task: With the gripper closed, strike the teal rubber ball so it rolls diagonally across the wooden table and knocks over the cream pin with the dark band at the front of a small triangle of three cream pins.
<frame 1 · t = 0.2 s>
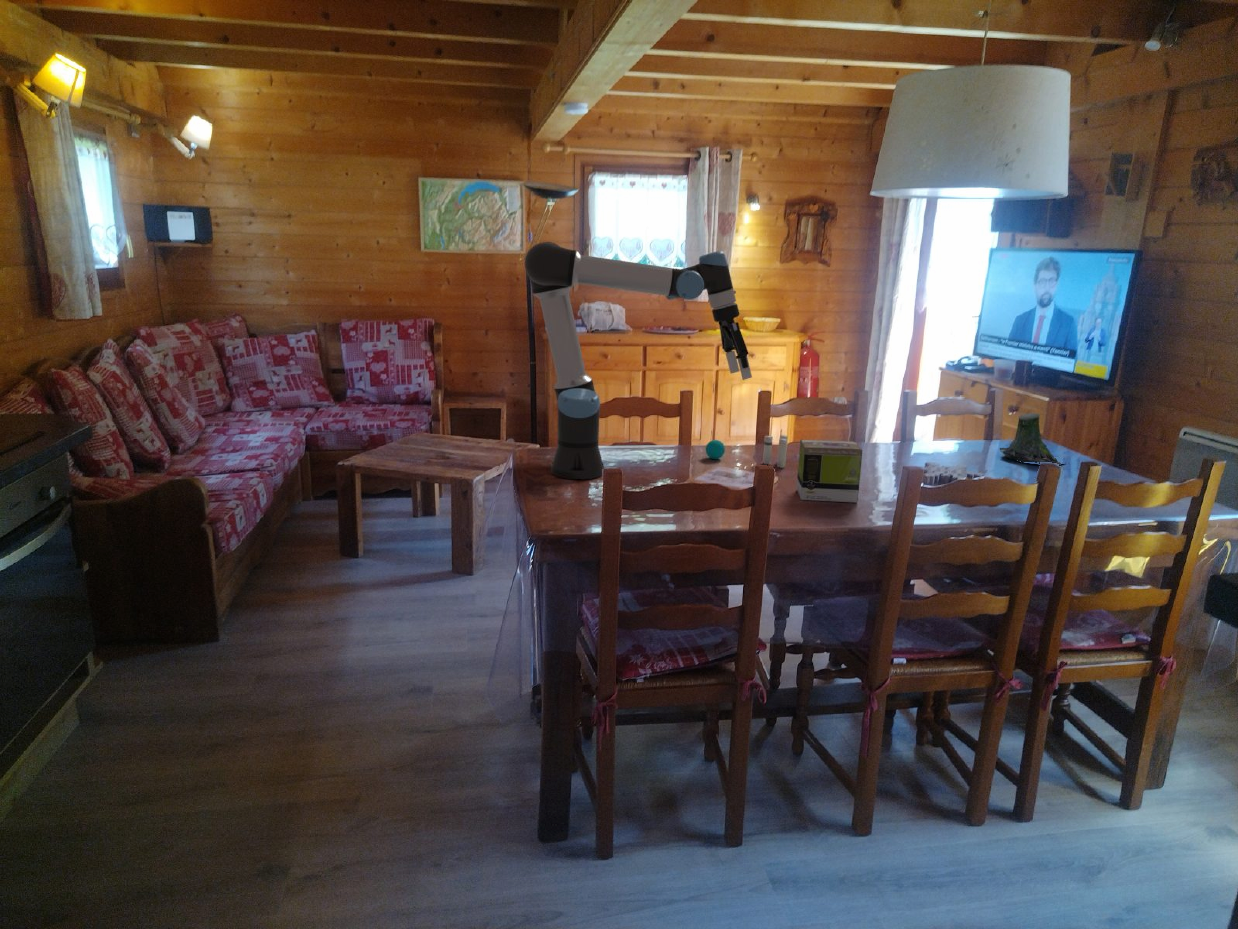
hand: (741, 375, 241), 27 cm above the table, tool tilted 20°, fingers open, 13 cm apart
tea box: (825, 497, 218), on the table
ball: (715, 449, 252), on the table
tree stump: (1032, 460, 265), on the table
pin 1: (780, 466, 246), on the table
front pin: (766, 463, 249), on the table
pin 2: (781, 462, 251), on the table
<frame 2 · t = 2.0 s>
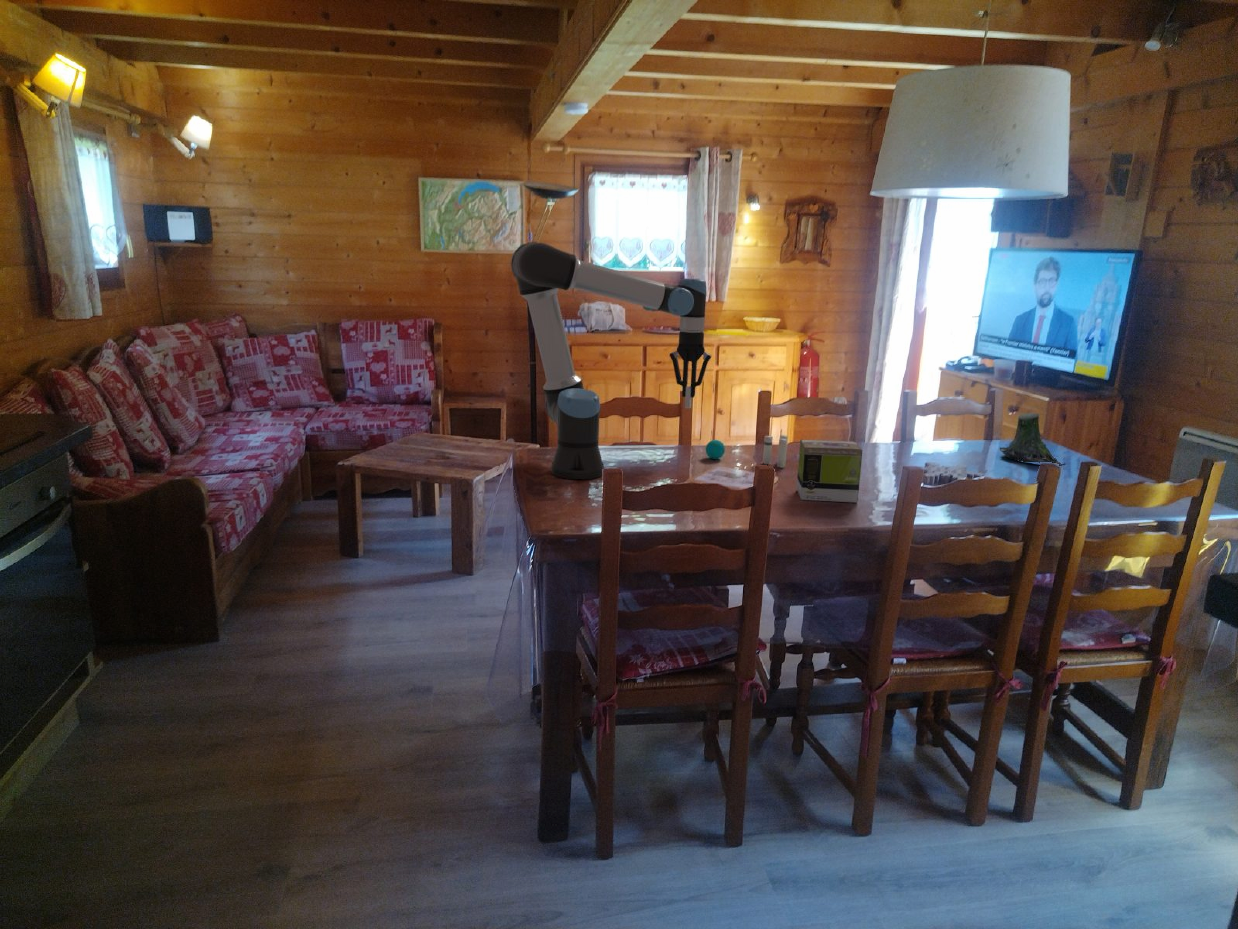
hand: (687, 407, 251), 16 cm above the table, tool pointing down, fingers closed
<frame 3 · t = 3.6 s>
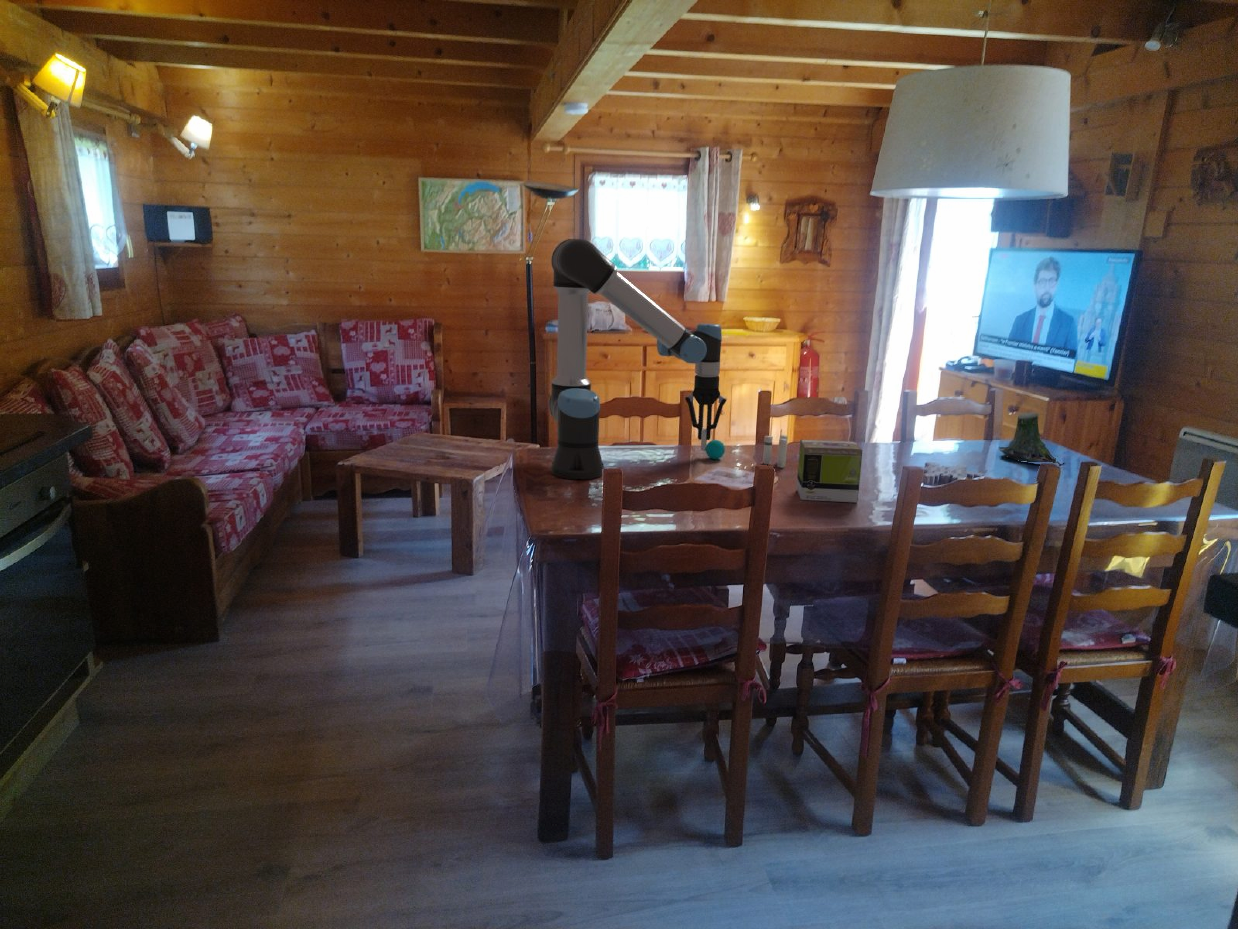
hand: (703, 449, 253), 3 cm above the table, tool pointing down, fingers closed
ball: (715, 449, 252), on the table, touching gripper
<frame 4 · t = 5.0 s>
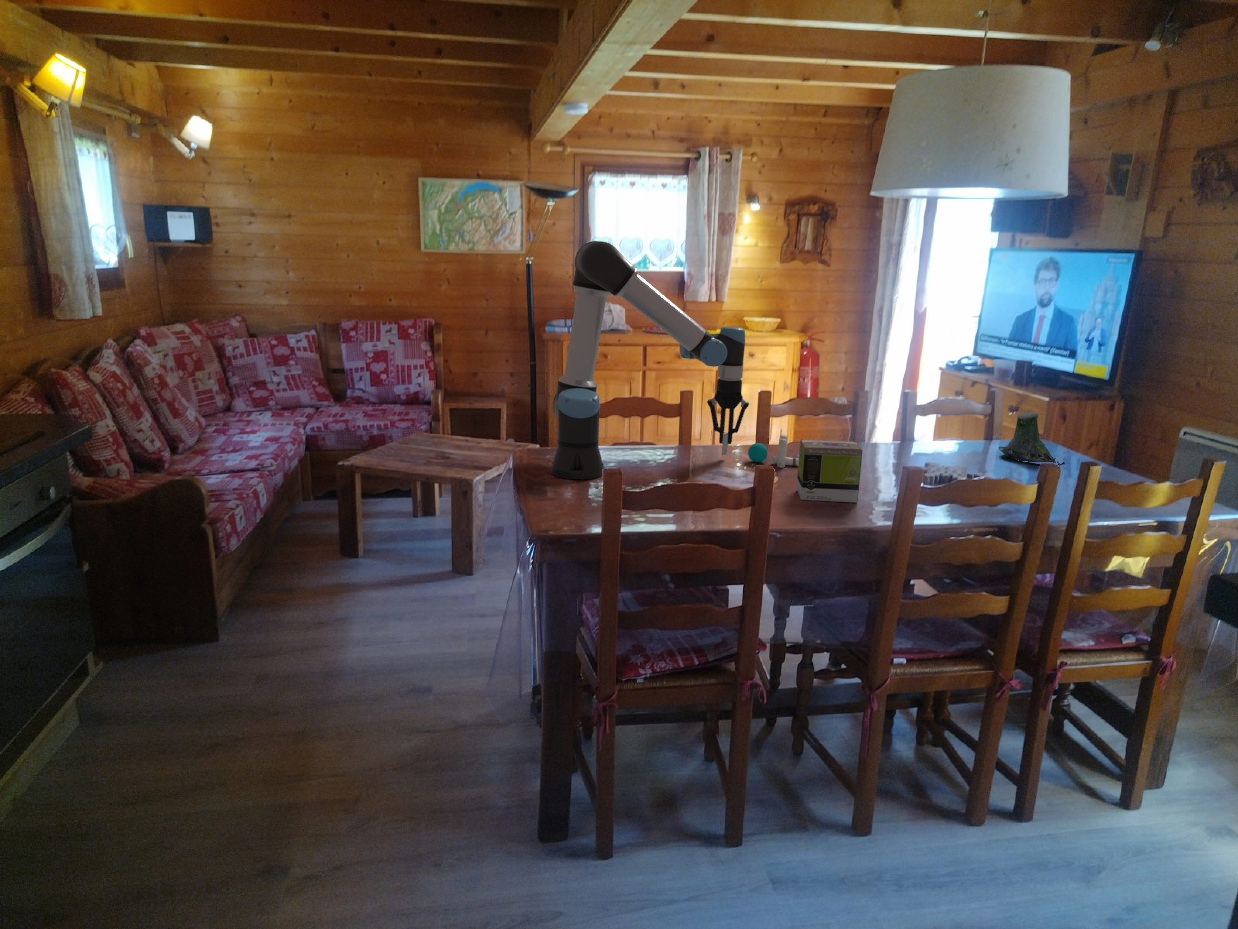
hand: (724, 453, 252), 2 cm above the table, tool pointing down, fingers closed
ball: (757, 452, 250), on the table
front pin: (772, 460, 249), point 1 cm above the table, tilted 90°
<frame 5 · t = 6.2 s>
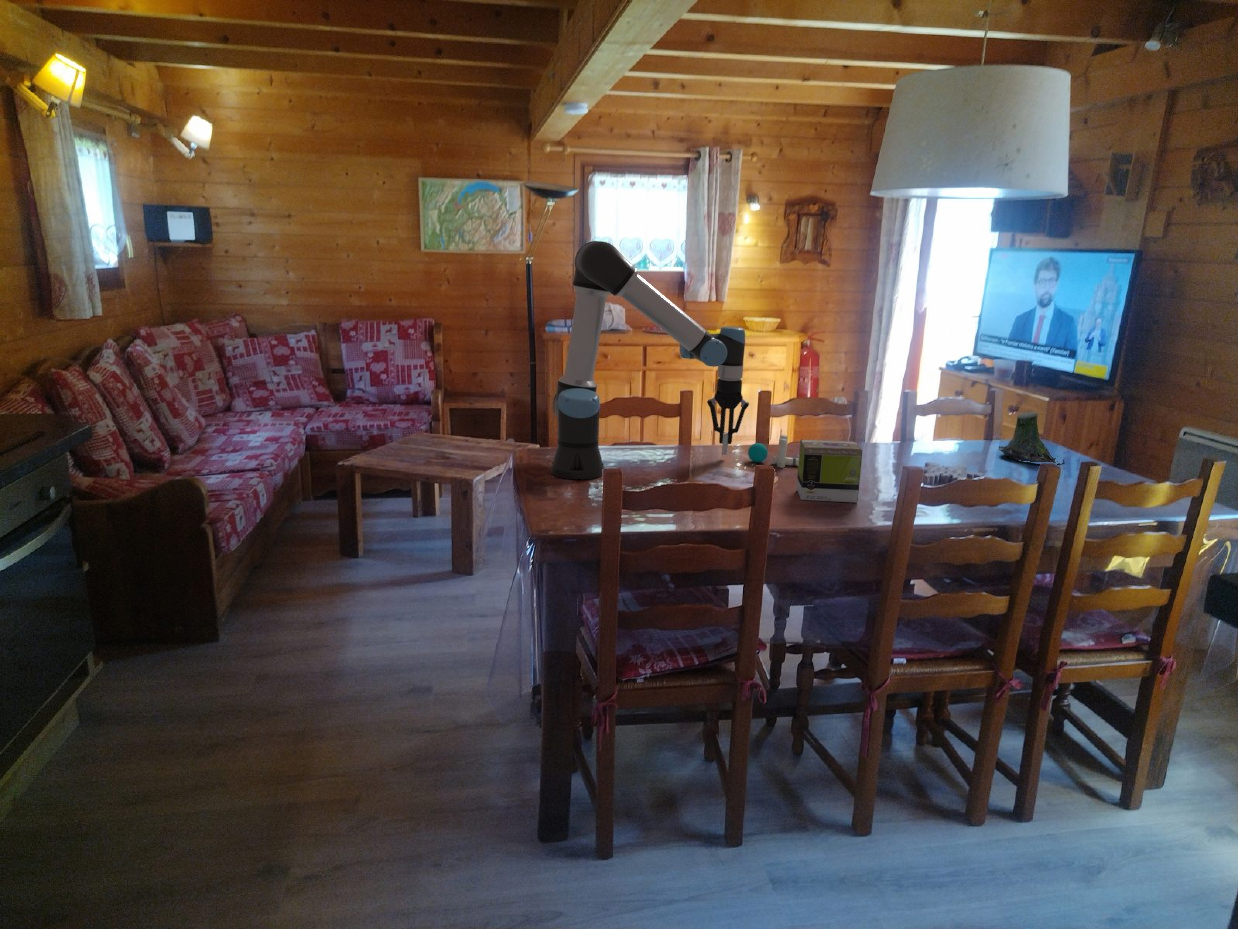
hand: (724, 453, 252), 2 cm above the table, tool pointing down, fingers closed
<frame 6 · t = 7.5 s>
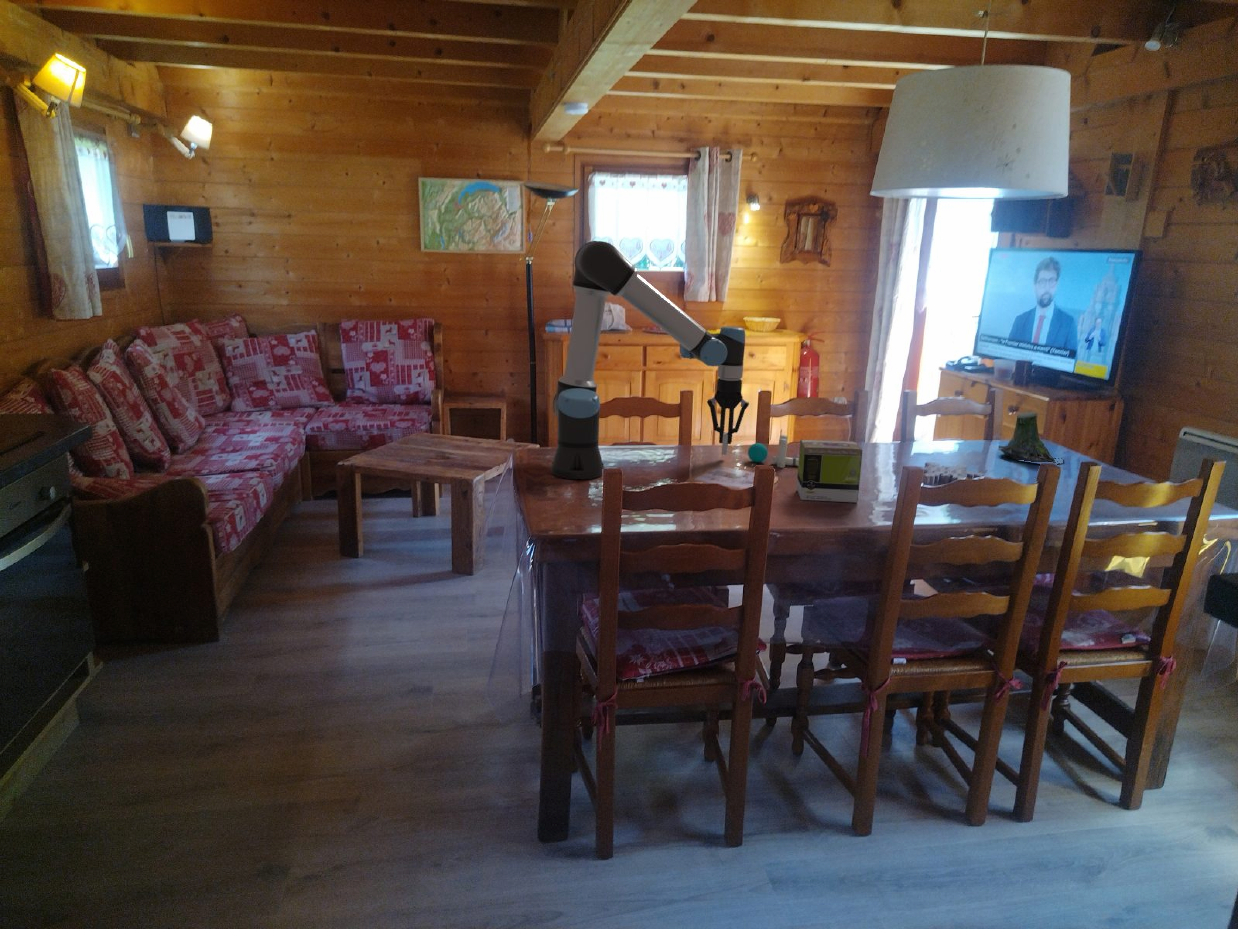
hand: (724, 453, 252), 2 cm above the table, tool pointing down, fingers closed
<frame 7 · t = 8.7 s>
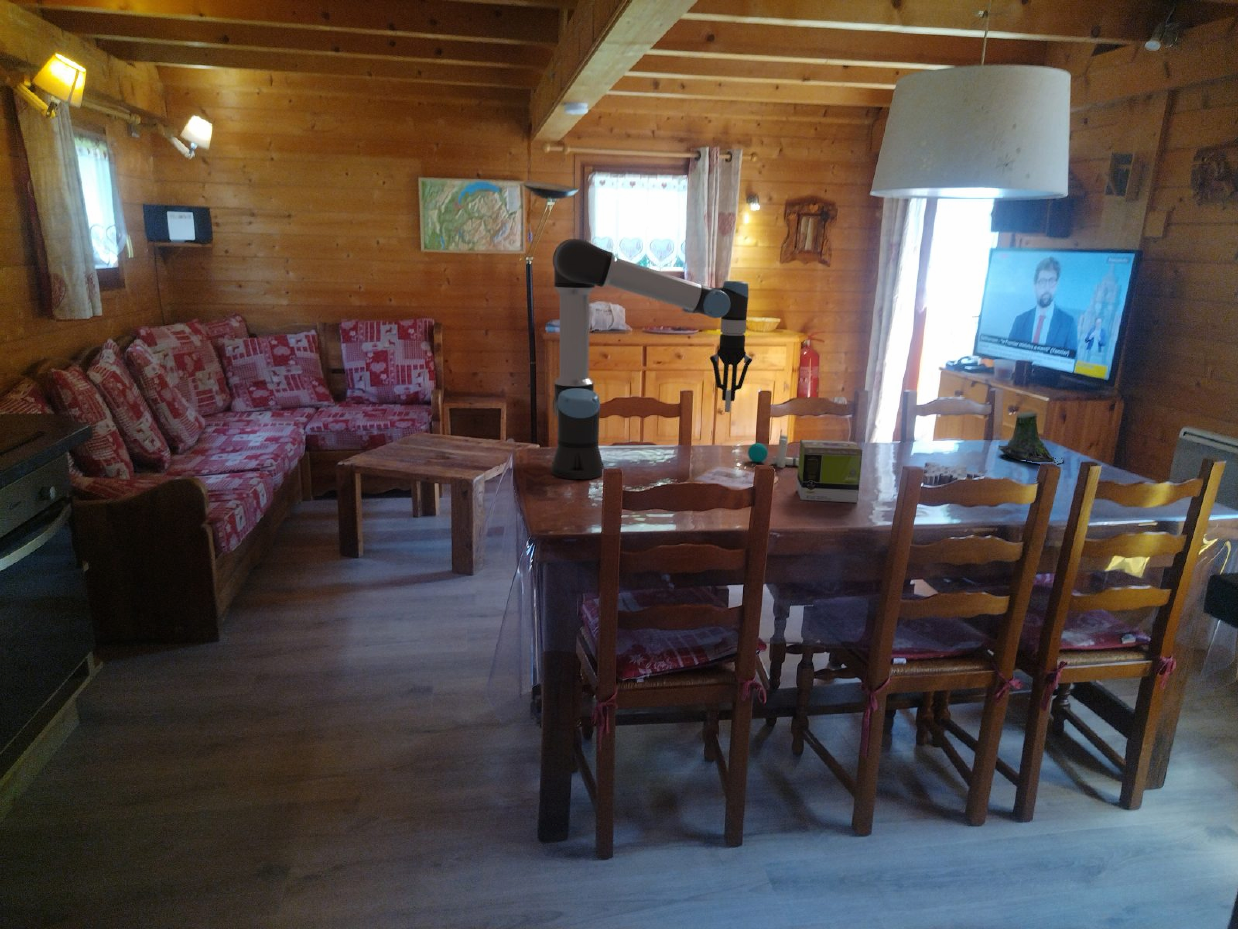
hand: (727, 411, 248), 15 cm above the table, tool pointing down, fingers closed
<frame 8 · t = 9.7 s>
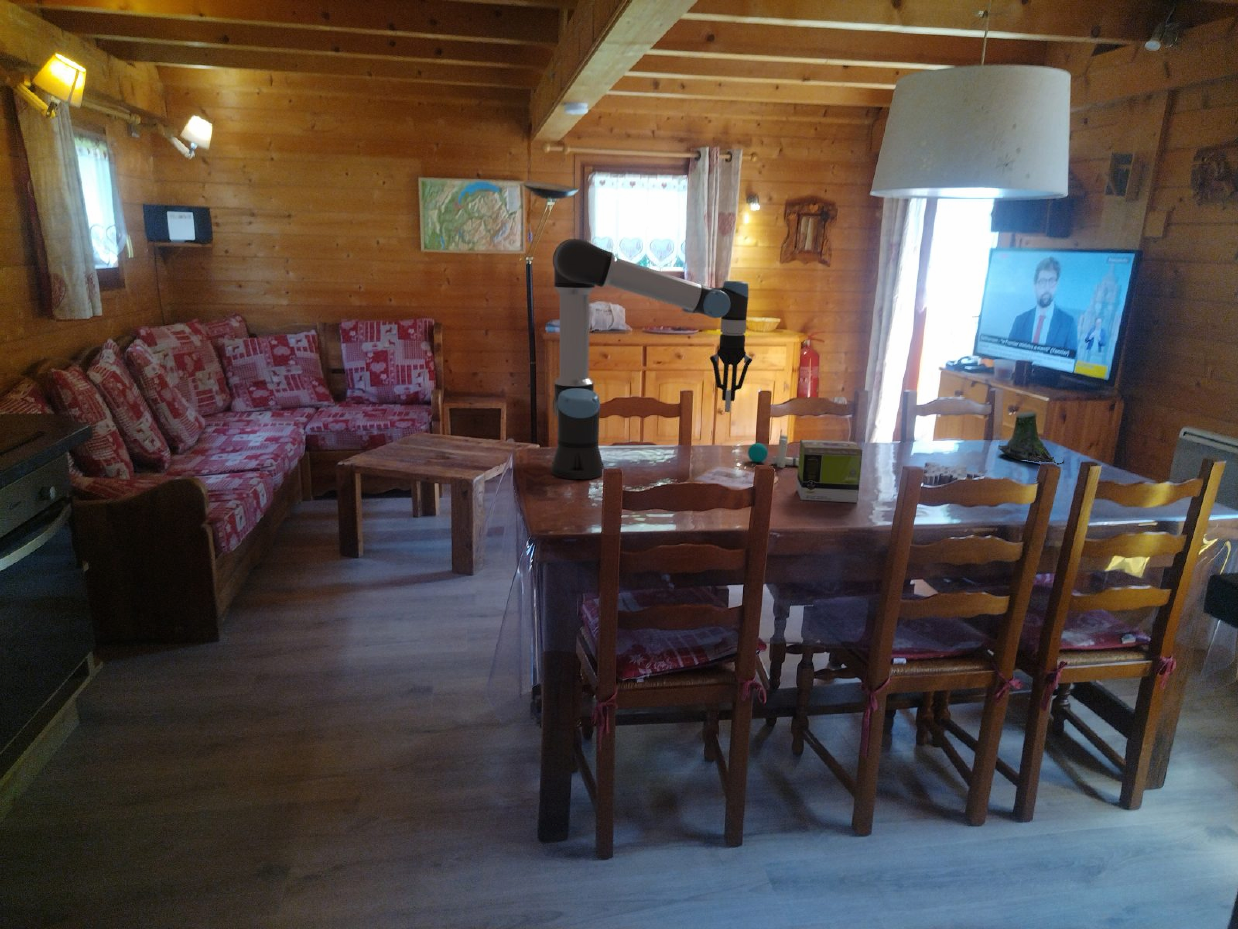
hand: (727, 411, 248), 15 cm above the table, tool pointing down, fingers closed
at the end: front pin tilted 90°; front pin never touched the robot; ball moved 13.1 cm from its start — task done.
